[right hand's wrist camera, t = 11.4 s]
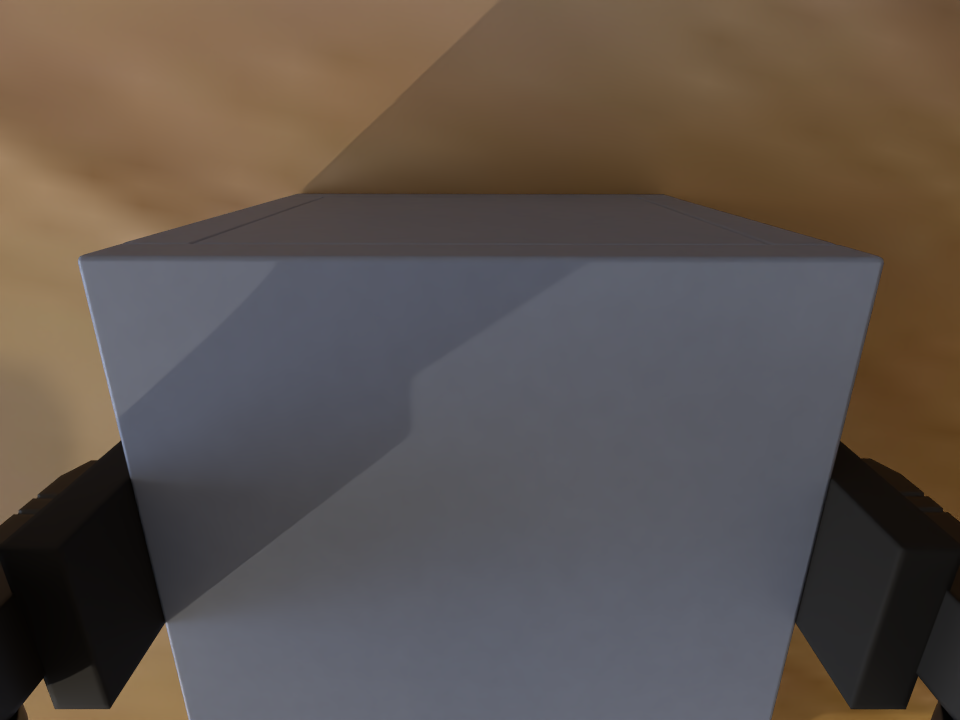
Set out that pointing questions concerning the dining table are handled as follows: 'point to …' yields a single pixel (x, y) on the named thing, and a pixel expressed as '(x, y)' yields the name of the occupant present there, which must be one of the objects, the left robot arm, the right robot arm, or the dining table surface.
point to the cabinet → (480, 450)
